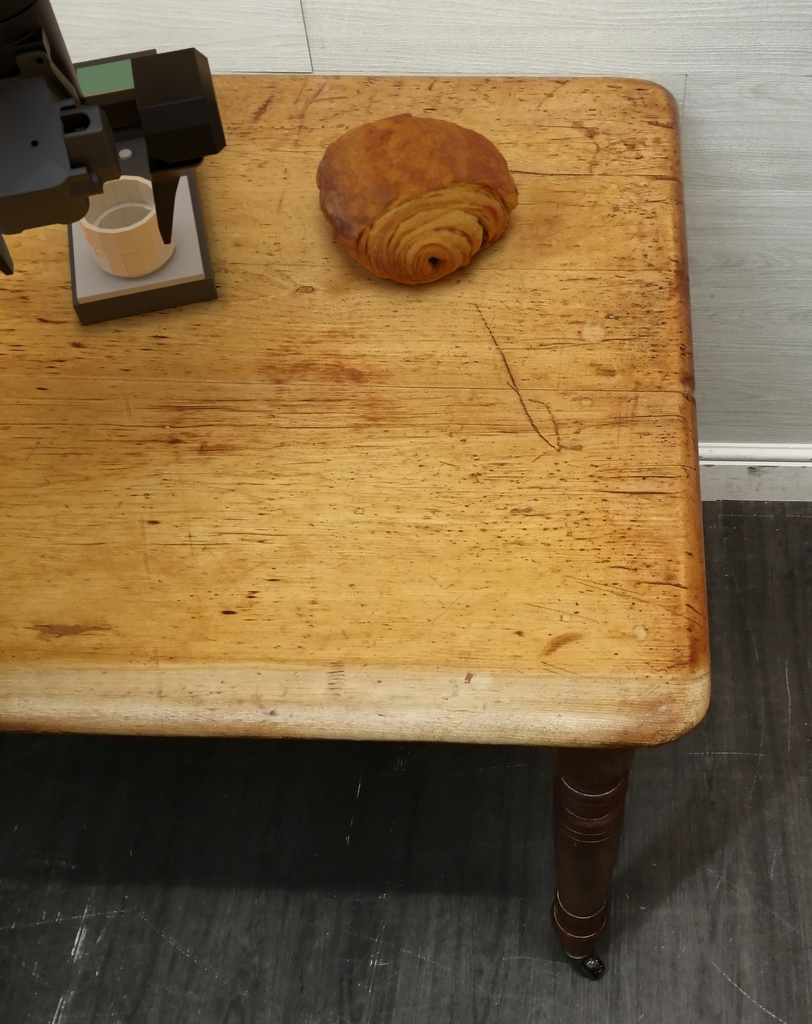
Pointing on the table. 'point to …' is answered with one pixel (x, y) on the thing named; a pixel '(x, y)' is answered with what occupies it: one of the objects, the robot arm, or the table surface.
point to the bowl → (125, 229)
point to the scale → (190, 259)
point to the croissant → (415, 196)
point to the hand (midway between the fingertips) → (89, 254)
